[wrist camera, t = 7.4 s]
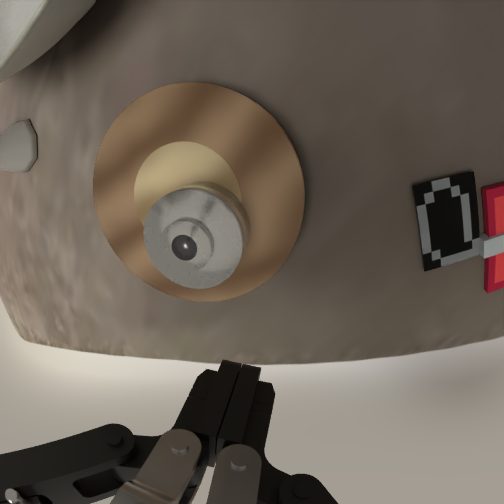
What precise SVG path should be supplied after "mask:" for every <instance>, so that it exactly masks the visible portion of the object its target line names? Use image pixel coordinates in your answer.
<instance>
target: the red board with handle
mask: <svg viewBox="0 0 504 504" xmlns="http://www.w3.org/2000/svg"><path fill="white" fill-rule="evenodd" d="M481 189H482V200H483V212H484V232H485V233H483V234H480V235H479V217H478V204H477V194H476V185H475V177H474V171H473V172H469V173H464V174H460V175H456V176H452V177H448V178H444V179H439V180H435V181H431V182H427V183H423V184H419V185H415V186H413V191H414V196H415V202H416V207H417V214H418V220H419V227H420V234H421V242H422V251H423V261H424V272H425V271H428V270H432V269H435V268H439V267H442V266H445V265H449V264H452V263H455V262H459V261H462V260H465V259H468V258H471V257H474V256H477V255H481V256H482V257H483V258H484V259H485V276H484V290H485V291H486V292H487V293H490V292H492V291H495V290H498V289H500V288H503V287H504V182H503V183H499V184H495V185H491V186H487V187H483V188H481Z"/></svg>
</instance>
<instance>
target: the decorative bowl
mask: <svg viewBox="0 0 504 504" xmlns="http://www.w3.org/2000/svg"><path fill="white" fill-rule="evenodd" d="M95 2H96V0H0V82H2V81H4V80H6V79H7V78H9V77H11V76H13V75H14V74H16V73H17V72H19V71H21V70H22V69H24V68H25V67H27V66H28V65H30V64H31V63H32V62H34V61H35V60H36V59H38V58H39V57H40V56H42V55H43V54H44V53H45V52H47V51H48V50H49V49H50V48H51V47H53V46H54V45H55V44H56V43H57V42H58V41H59V40H60V39H61V38H62V37H63V36H64V35H65V34H66V33H67V32H68V31H69V30H70V29H71V28H72V27H73V26H74V25H75V24H76V23H77V22H78V21H79V20H80V19H81V18H82V17H83V16H84V15H85V14H86V13H87V12H88V11H89V10H90V8H91V7H92V6H93V5H94V3H95Z"/></svg>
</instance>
